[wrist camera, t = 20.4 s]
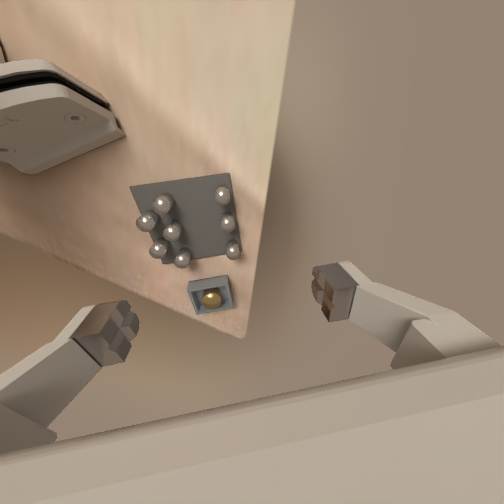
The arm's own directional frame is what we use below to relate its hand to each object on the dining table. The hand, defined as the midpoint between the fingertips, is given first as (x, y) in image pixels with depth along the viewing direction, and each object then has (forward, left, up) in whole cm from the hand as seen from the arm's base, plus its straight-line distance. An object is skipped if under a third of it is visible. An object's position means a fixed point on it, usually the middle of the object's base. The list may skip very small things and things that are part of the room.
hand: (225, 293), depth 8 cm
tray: (-8, -25, -29) cm, 39 cm away
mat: (-7, -7, -29) cm, 31 cm away
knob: (-8, -25, -29) cm, 39 cm away
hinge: (-22, +10, -30) cm, 38 cm away
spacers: (-7, -7, -29) cm, 31 cm away
